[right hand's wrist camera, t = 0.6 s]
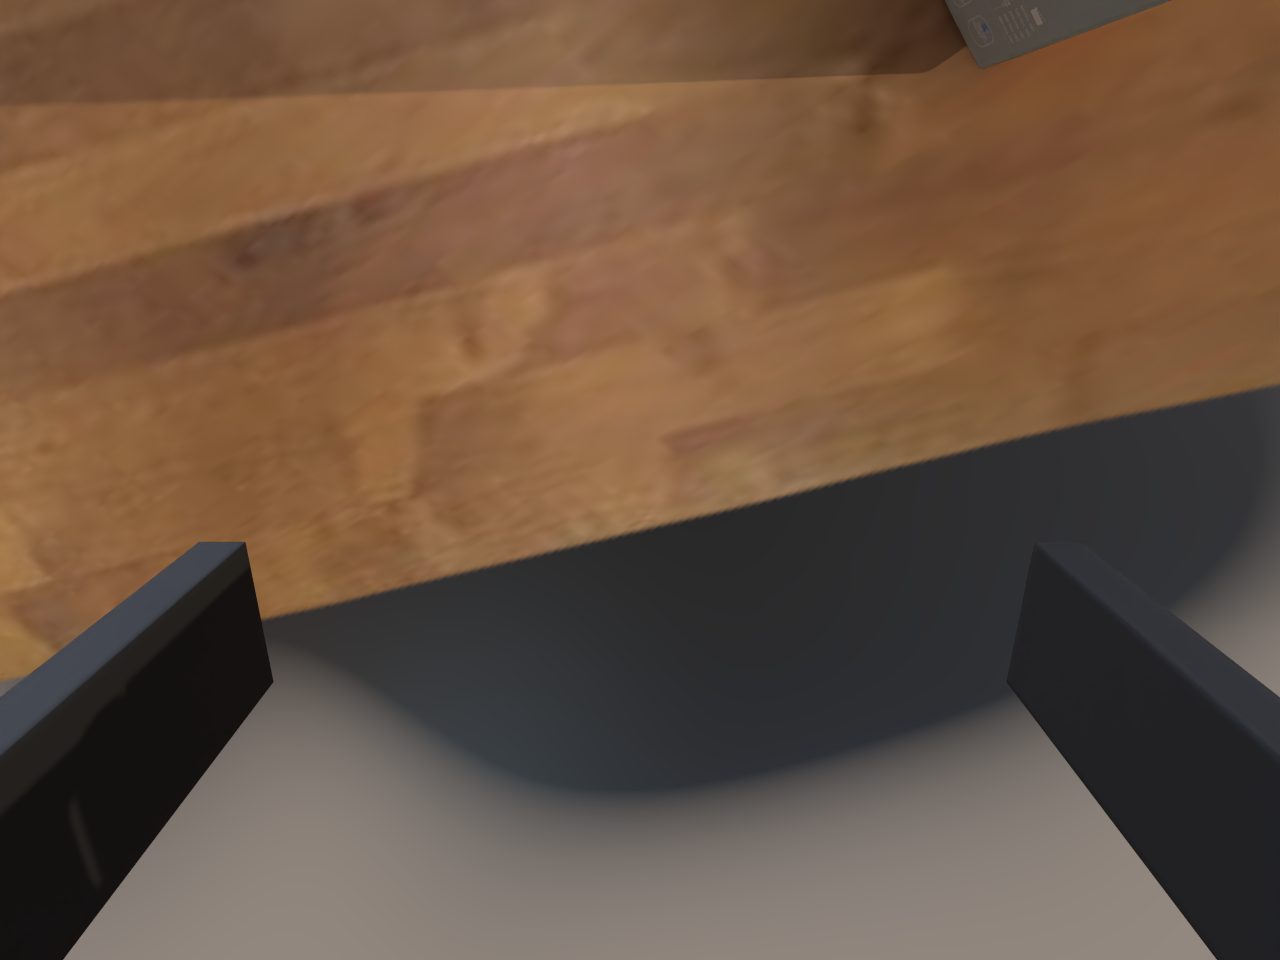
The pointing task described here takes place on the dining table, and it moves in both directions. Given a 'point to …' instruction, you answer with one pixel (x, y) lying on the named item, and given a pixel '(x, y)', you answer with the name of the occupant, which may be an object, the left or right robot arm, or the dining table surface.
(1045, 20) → the hard drive box
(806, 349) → the dining table surface
